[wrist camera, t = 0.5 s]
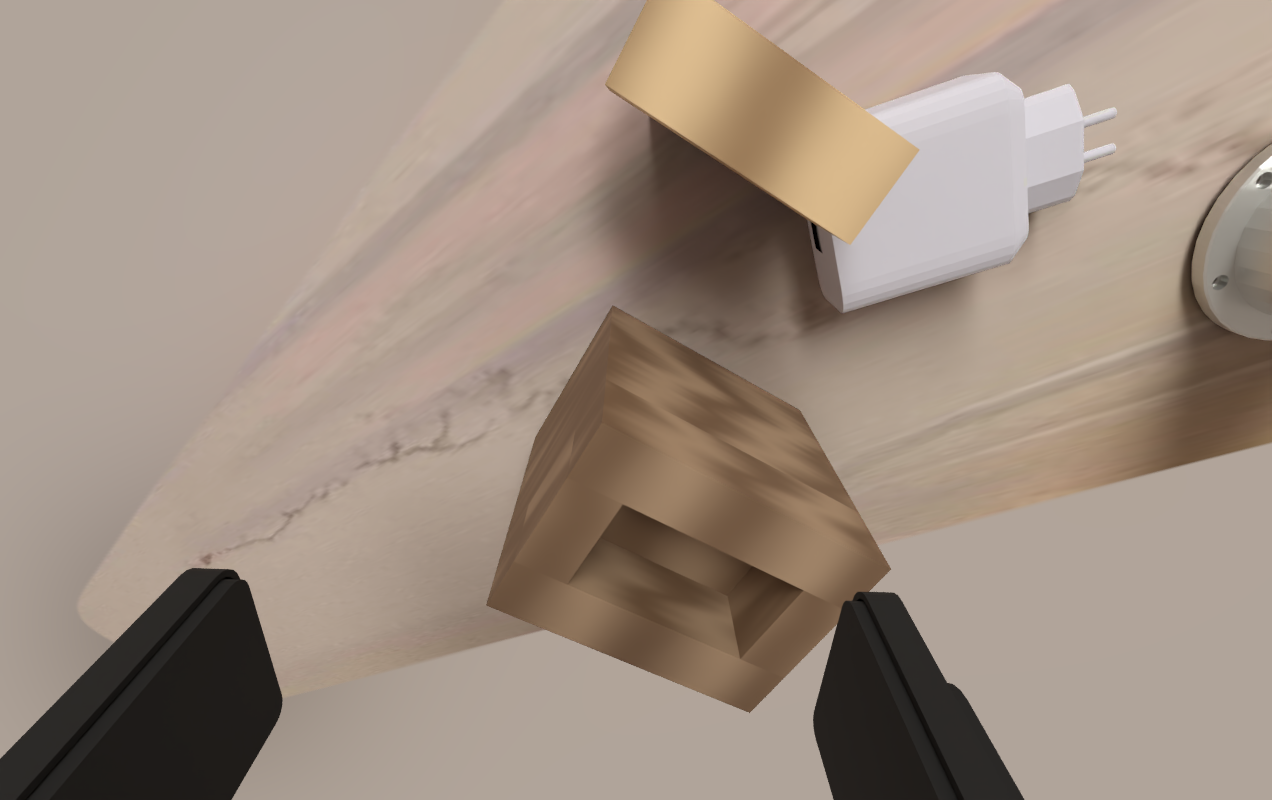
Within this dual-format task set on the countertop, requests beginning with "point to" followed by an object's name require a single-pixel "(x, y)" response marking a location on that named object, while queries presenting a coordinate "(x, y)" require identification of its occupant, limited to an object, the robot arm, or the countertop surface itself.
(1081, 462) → the countertop surface
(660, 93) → the tan rectangular block
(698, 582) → the wooden crate
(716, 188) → the countertop surface
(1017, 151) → the charger
